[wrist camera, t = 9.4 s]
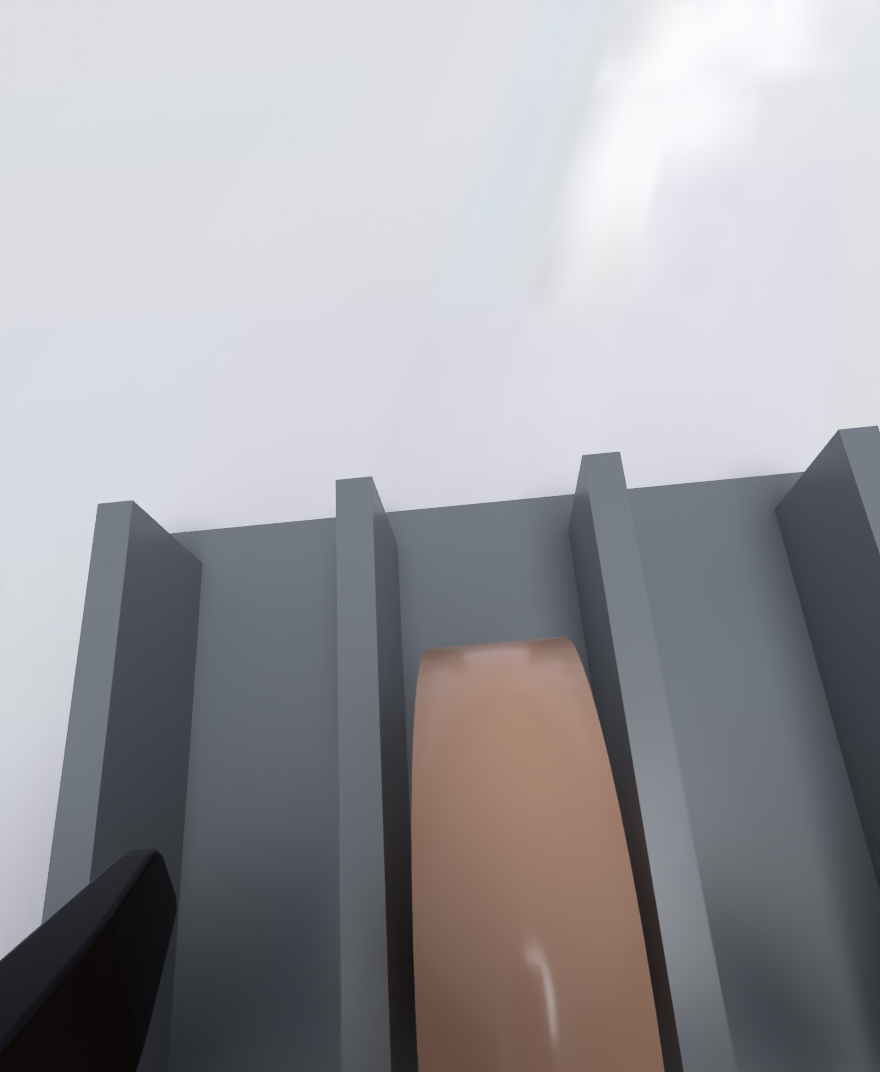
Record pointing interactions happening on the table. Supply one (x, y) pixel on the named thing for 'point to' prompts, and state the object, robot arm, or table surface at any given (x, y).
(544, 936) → the peach disc
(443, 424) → the table surface
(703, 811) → the dish rack
